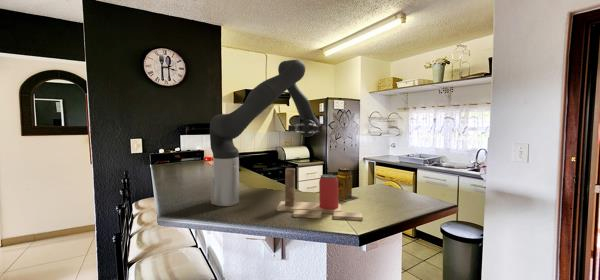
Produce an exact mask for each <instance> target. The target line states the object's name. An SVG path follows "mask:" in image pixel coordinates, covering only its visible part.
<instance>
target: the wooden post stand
mask: <svg viewBox="0 0 600 280" xmlns="http://www.w3.org/2000/svg"><path fill="white" fill-rule="evenodd" d="M284 171H285V172H284V173H285V174H284V176H285V177H284V179H285V180H284V182H285V183H284V184H285V185H284V187H285V189H284V191H285V192H284V195H285V196H284V201H283V200H281V201H280V202H279V203H278V205H277V207H276V211H278V212H293V213H294V210H310V211H322V214H333V215H334V212H342V204H341V203H338V208H337V209H333V210H327V209H322V208H320V203H319V202H311V201H309V202H308V201H296V168H295V167H285V170H284Z"/></svg>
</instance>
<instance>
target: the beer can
mask: <svg viewBox="0 0 600 280" xmlns="http://www.w3.org/2000/svg"><path fill="white" fill-rule="evenodd" d="M318 183H319V187H318V188H319V189H318V192H319V193H318V195H319V199H318V201H319V202H318V203H320V208H322V209H327V210H333V209H337V208H338V204H339V199H338V179H337V174H333V173H327V174H326V173H325V174H323V173H322V174H321V175H320V178H319V182H318Z"/></svg>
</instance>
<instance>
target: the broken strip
mask: <svg viewBox="0 0 600 280" xmlns="http://www.w3.org/2000/svg"><path fill="white" fill-rule="evenodd" d="M322 214H323V213H322V211H310V210H294V212H293V213H292V217H294V218H306V219H307V218H310V219H313V218H314V219H322ZM362 214H363V213H361V212H349V211H341V212H334V214H333V220H346V221H347V220H348V221H363V220H364V217H363V215H362Z"/></svg>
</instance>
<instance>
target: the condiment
mask: <svg viewBox="0 0 600 280" xmlns="http://www.w3.org/2000/svg"><path fill="white" fill-rule="evenodd" d="M336 176H337V179H338V200H340V201H344V202H347V201H352V200H355V199H358V198H359V196H355V195H353V193H352V192H353V190H352V189H353V176H352V169H351V168H350V167H349V168H348V167H340V168H337V174H336Z"/></svg>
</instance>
